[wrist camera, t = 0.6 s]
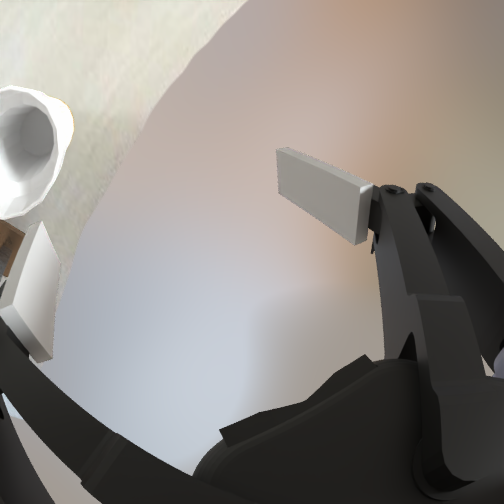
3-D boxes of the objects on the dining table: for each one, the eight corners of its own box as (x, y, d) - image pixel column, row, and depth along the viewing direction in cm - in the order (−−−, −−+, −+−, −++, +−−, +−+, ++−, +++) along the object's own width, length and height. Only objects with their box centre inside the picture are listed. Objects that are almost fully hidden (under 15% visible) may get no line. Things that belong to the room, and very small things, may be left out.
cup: (-3, 153, 27) (-60, 194, 13) (32, 76, 24) (-18, 68, 11) (59, 182, 34) (34, 238, 20) (97, 108, 31) (86, 116, 18)
